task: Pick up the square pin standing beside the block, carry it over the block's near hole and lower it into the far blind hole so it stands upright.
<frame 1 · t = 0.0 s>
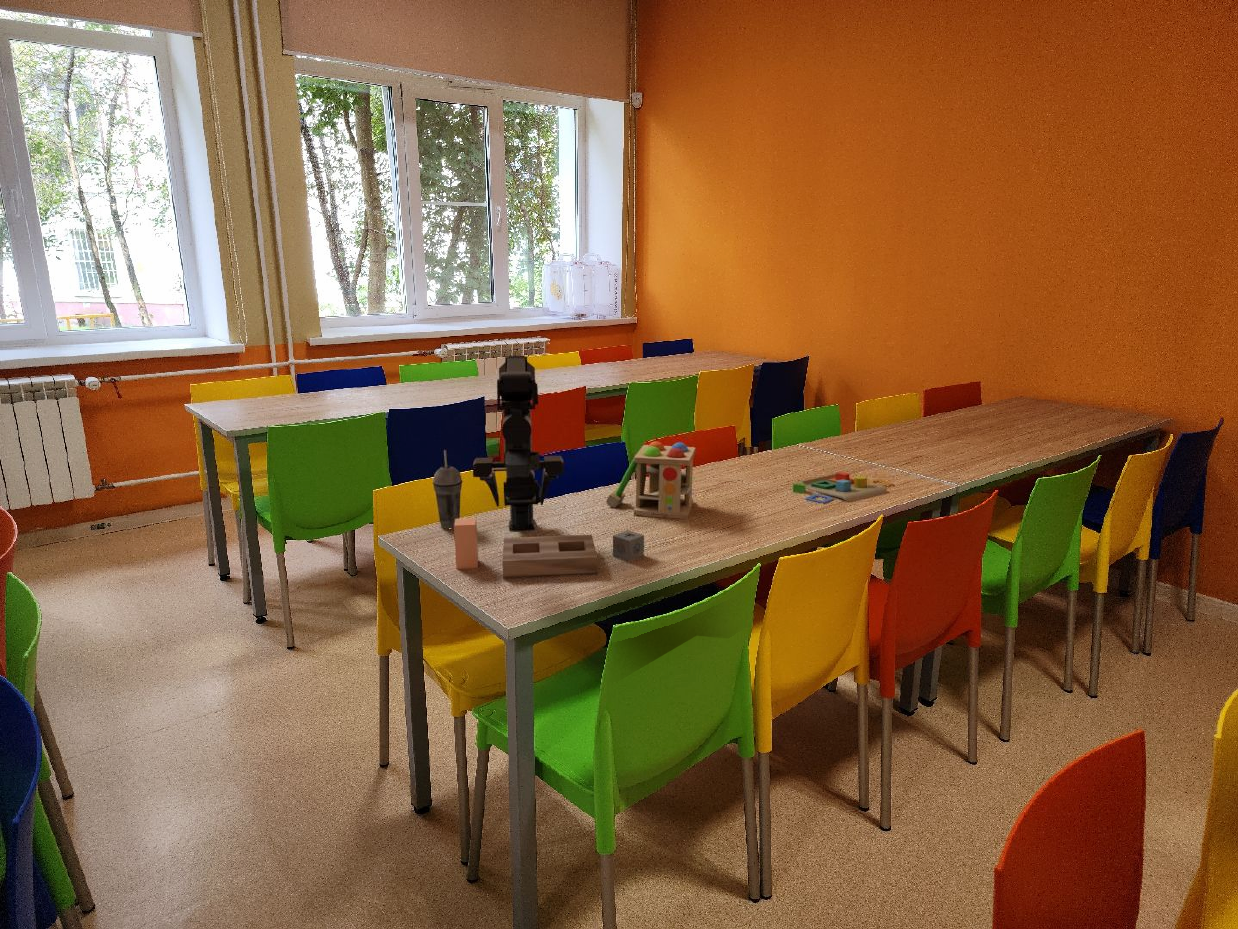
hand: (519, 505, 169), 15 cm above the table, tool pointing down, fingers open, 9 cm apart
beverage cup: (450, 527, 200), on the table
socket block: (549, 564, 176), on the table
pounding bench toy: (648, 508, 215), on the table
pin: (467, 564, 176), on the table
shape sorter: (842, 491, 232), on the table
dice cube: (628, 557, 181), on the table
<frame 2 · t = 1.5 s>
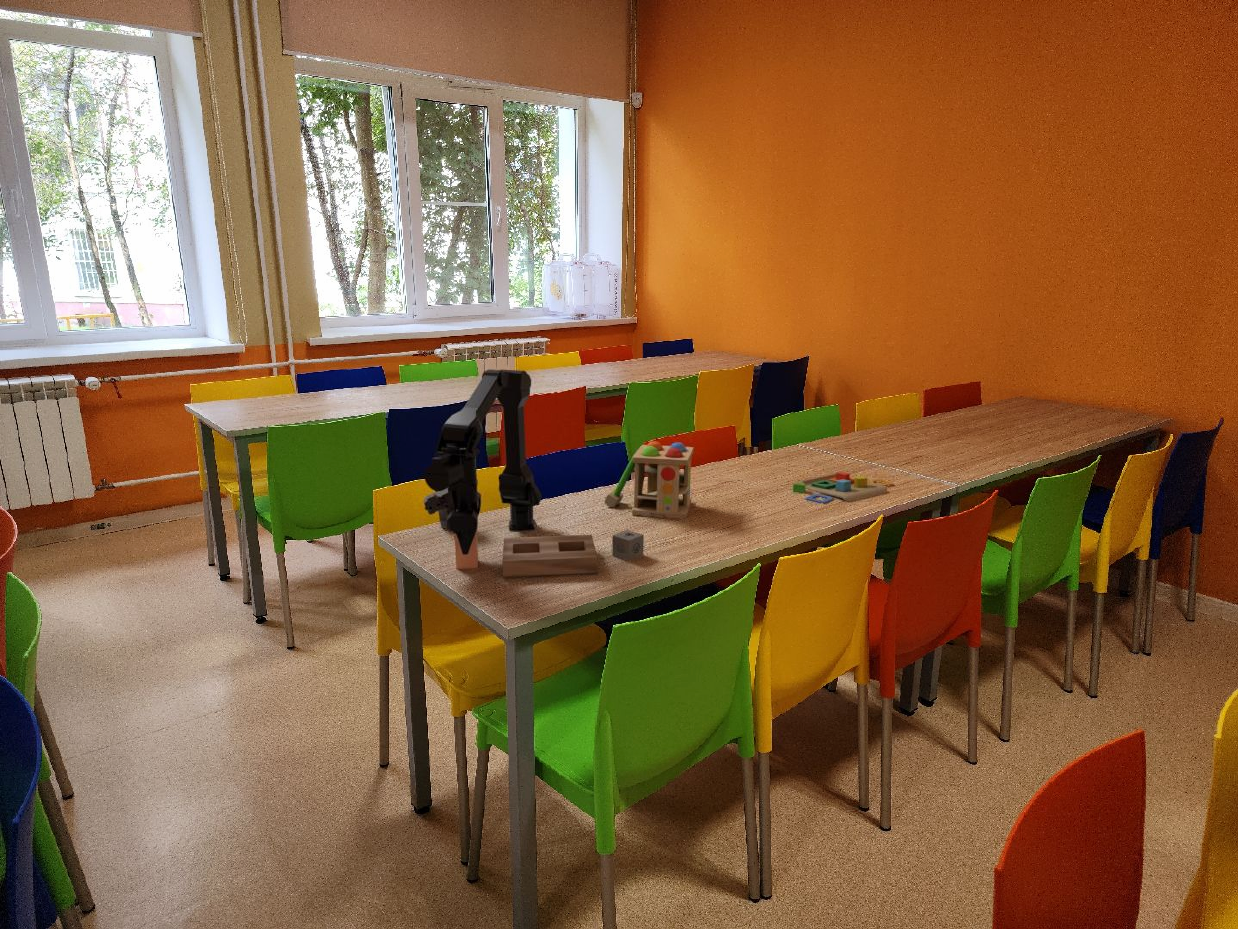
hand: (466, 546, 175), 4 cm above the table, tool pointing down, fingers open, 9 cm apart
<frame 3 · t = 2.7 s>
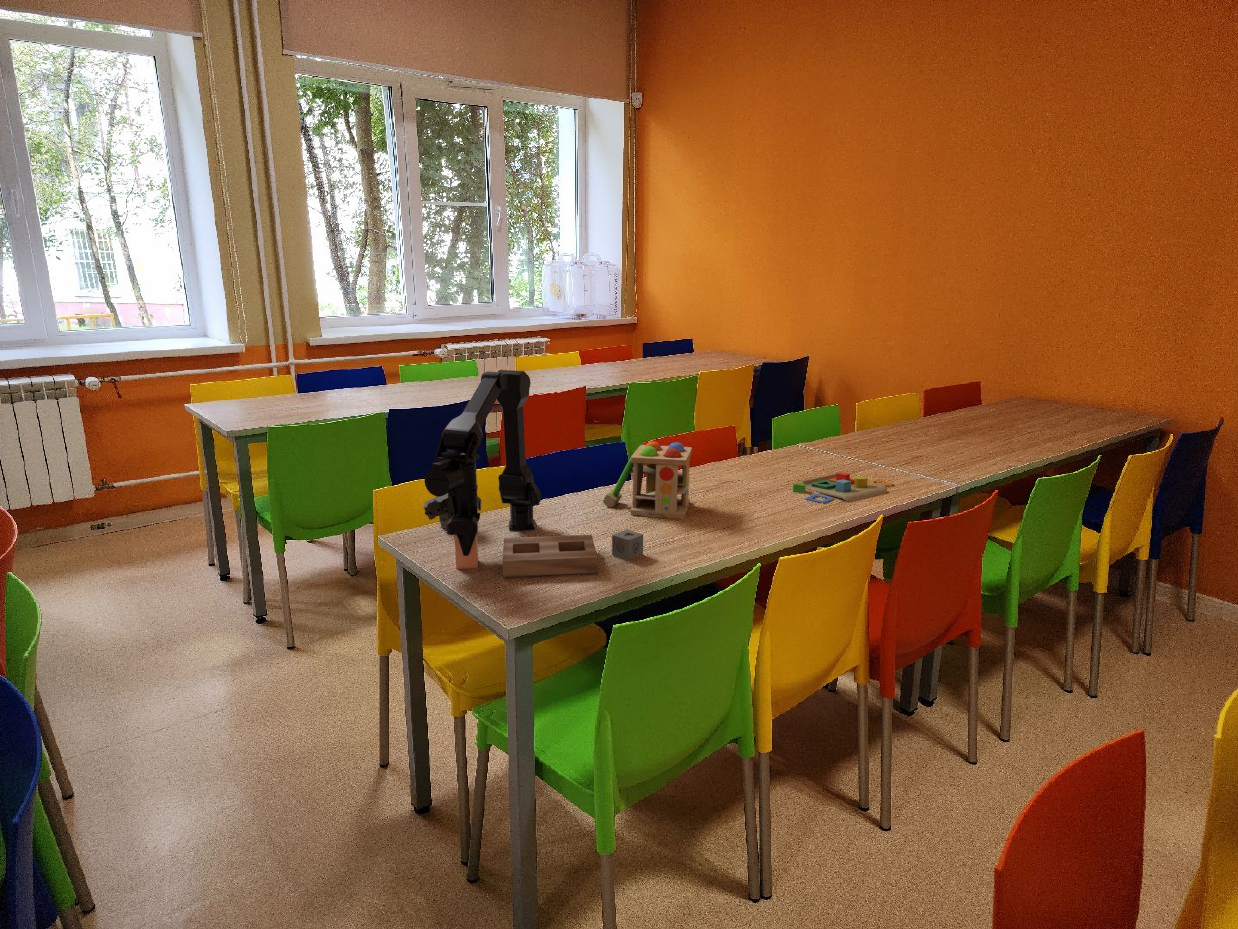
hand: (466, 551, 175), 3 cm above the table, tool pointing down, fingers closed on pin, 4 cm apart
pin: (467, 564, 176), on the table, touching gripper
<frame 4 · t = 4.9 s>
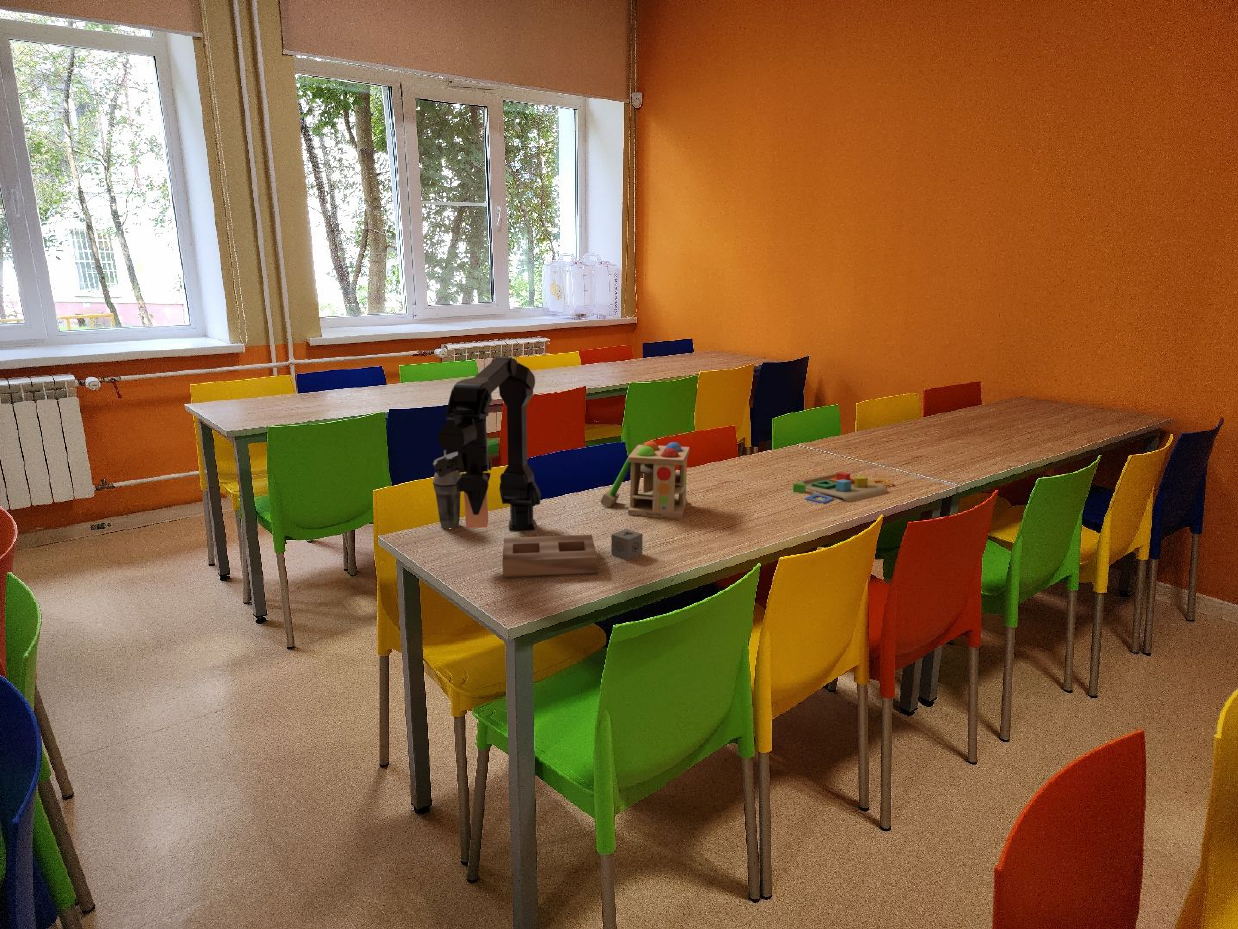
hand: (476, 510, 173), 12 cm above the table, tool pointing down, fingers closed on pin, 4 cm apart
pin: (477, 524, 173), point 9 cm above the table, touching gripper
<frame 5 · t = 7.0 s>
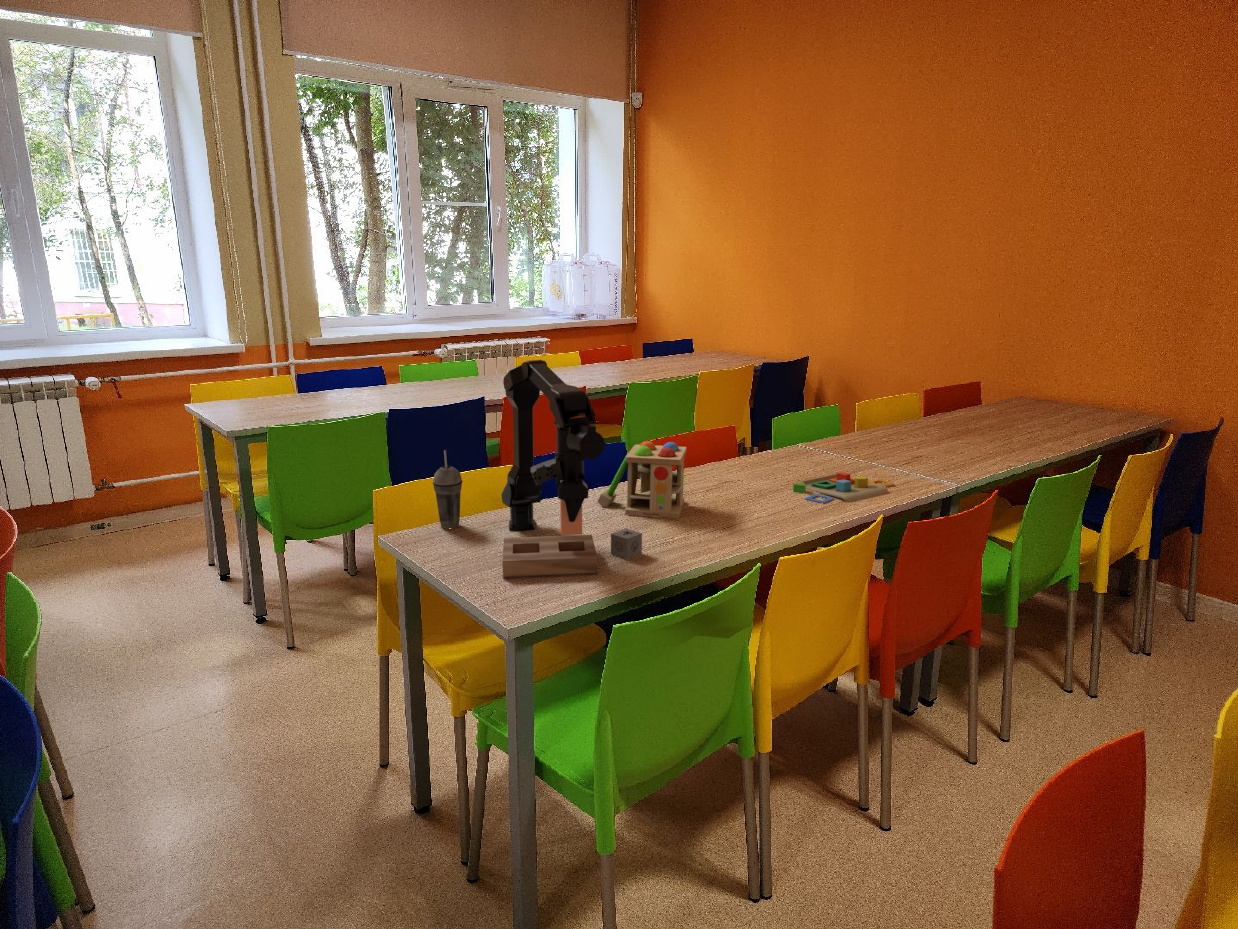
hand: (571, 518, 174), 11 cm above the table, tool pointing down, fingers closed on pin, 4 cm apart
pin: (571, 531, 174), point 7 cm above the table, touching gripper
when the fingers open (5 cm above the table, at t = 8.8 s): pin drops 2 cm, resting on socket block.
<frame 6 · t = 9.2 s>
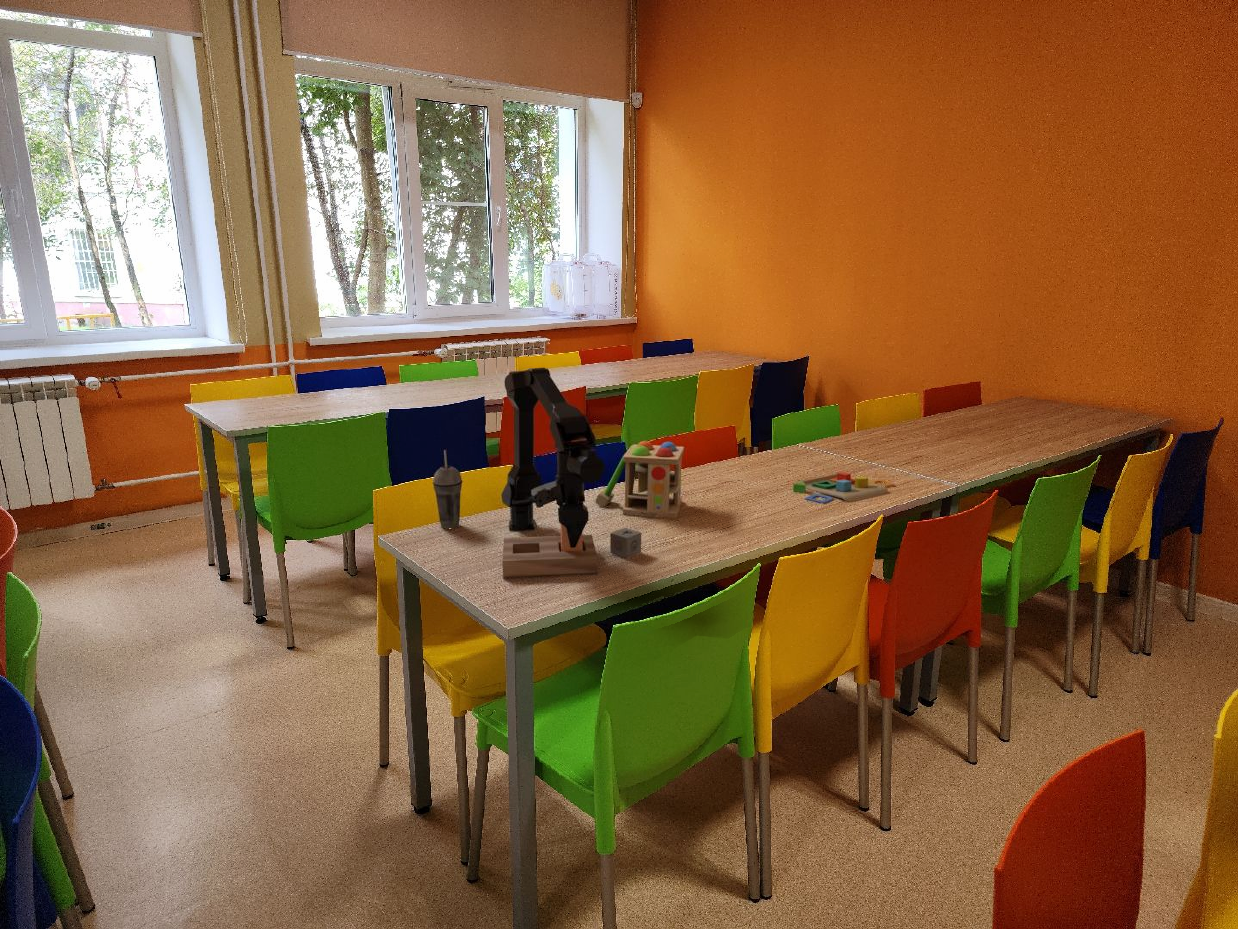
hand: (571, 540, 175), 5 cm above the table, tool pointing down, fingers open, 9 cm apart
pin: (571, 561, 176), resting on socket block
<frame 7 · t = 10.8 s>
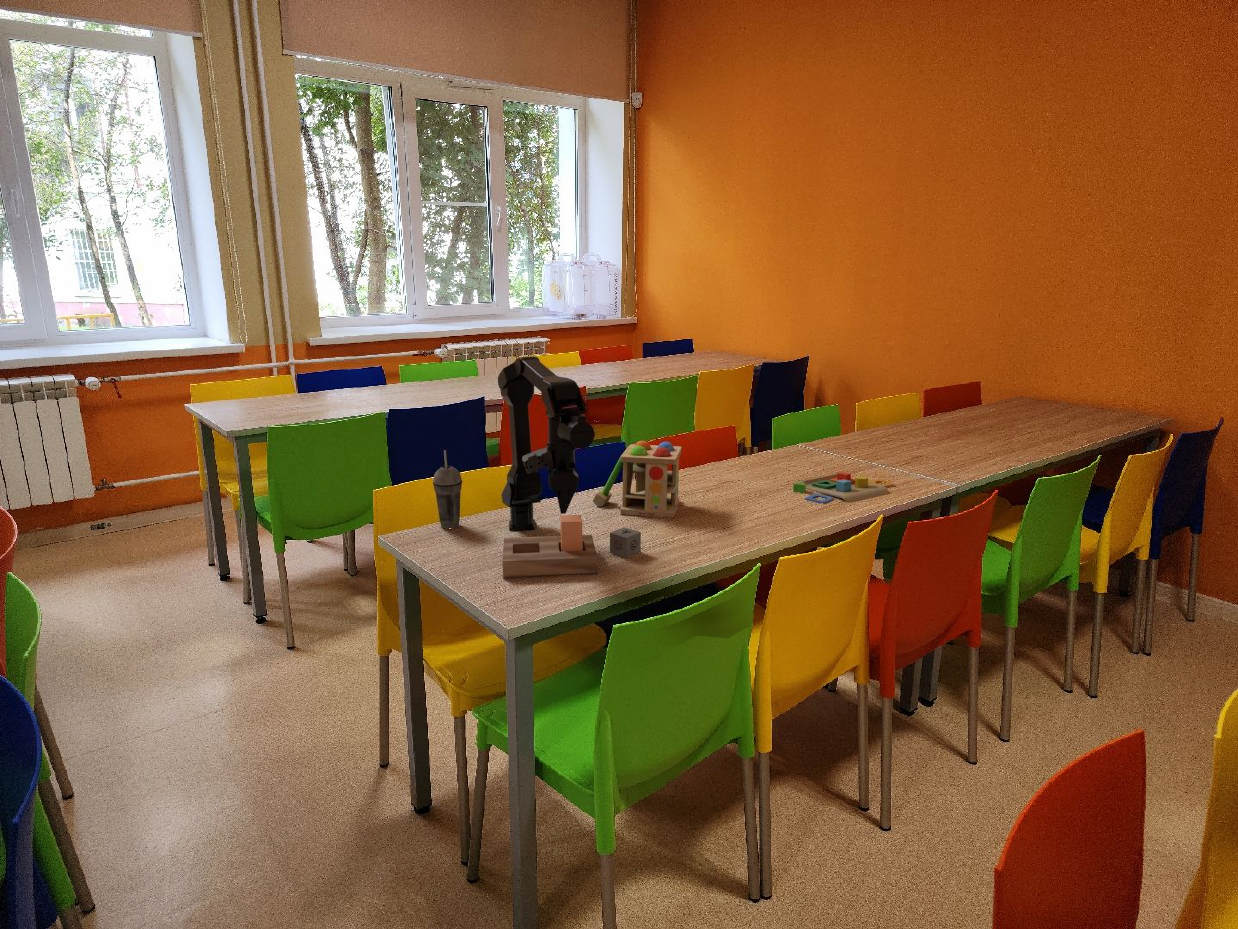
hand: (562, 506, 177), 12 cm above the table, tool pointing down, fingers open, 9 cm apart
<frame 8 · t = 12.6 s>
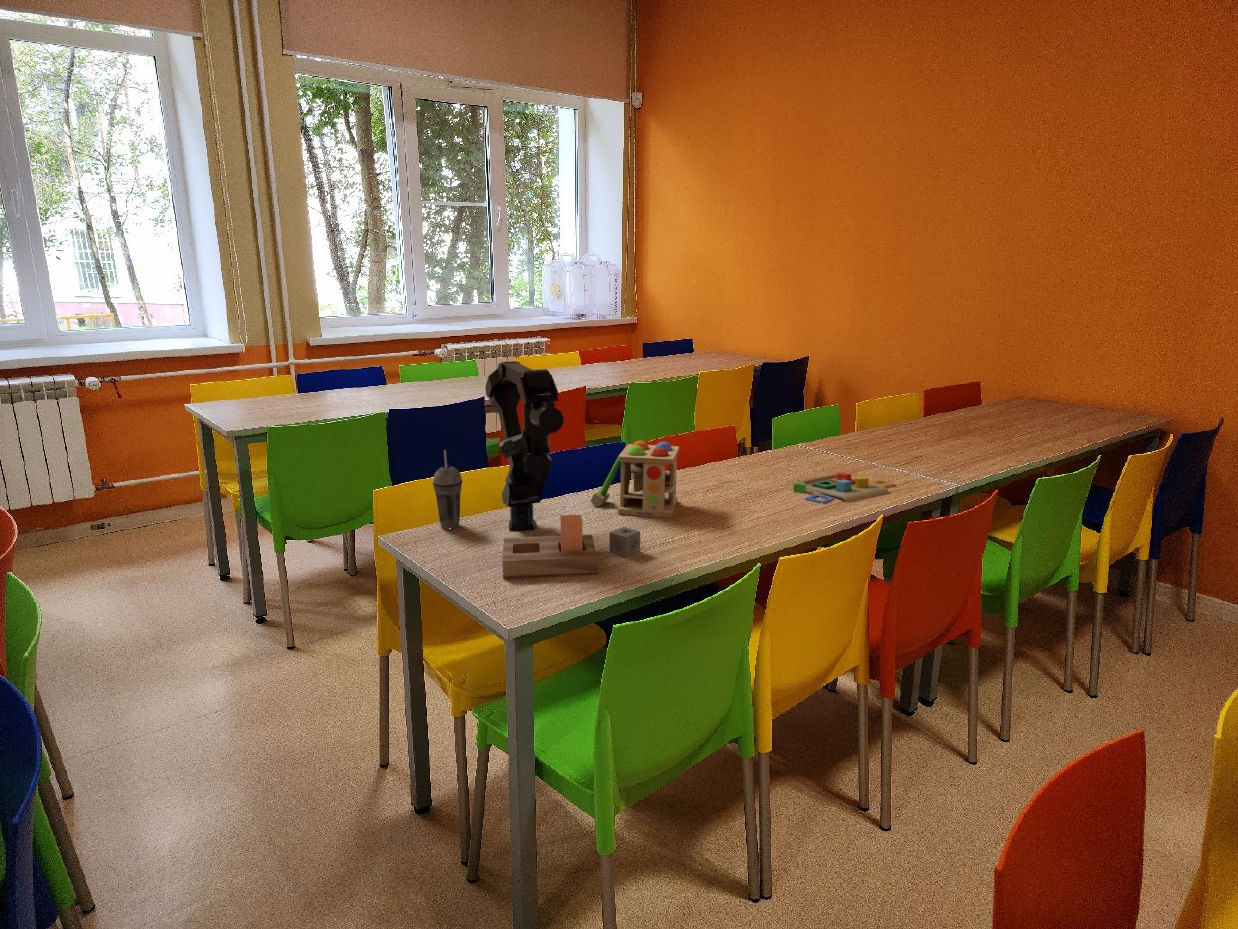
hand: (537, 490, 186), 13 cm above the table, tool pointing down, fingers open, 9 cm apart
at the end: pin 0.0 cm from the target spot on the socket block, point 0.5 cm above the socket block's base; pin tilted 0°; the gripper is holding nothing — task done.
